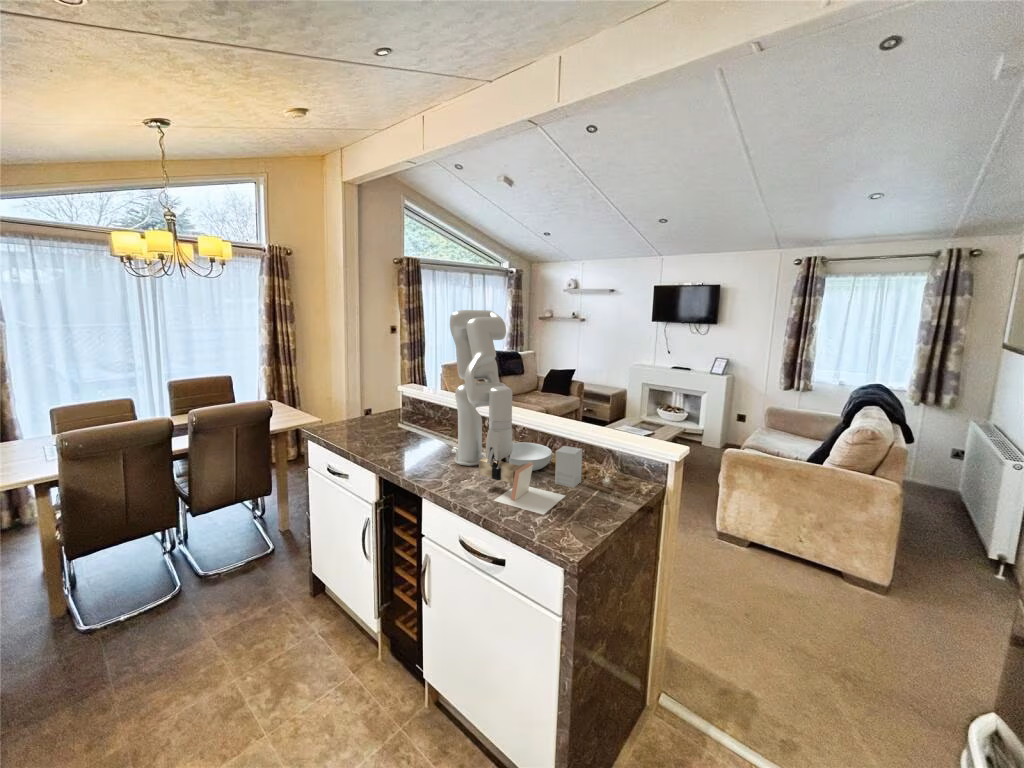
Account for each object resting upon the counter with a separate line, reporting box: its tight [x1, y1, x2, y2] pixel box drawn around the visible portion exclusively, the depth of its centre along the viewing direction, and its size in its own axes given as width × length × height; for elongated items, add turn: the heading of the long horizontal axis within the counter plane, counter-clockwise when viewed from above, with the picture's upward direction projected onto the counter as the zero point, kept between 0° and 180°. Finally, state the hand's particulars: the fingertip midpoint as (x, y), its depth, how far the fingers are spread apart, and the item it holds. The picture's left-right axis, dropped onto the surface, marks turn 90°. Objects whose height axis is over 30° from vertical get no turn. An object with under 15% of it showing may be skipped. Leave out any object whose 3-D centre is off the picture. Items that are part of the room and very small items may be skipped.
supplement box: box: [554, 445, 583, 489], centre depth 155 cm, size 7×7×13 cm
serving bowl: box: [509, 441, 553, 472], centre depth 171 cm, size 21×21×7 cm
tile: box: [511, 463, 533, 500], centre depth 143 cm, size 2×9×10 cm, turn 149°
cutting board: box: [492, 486, 566, 516], centre depth 142 cm, size 18×16×1 cm
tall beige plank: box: [478, 456, 526, 488], centre depth 147 cm, size 15×8×5 cm, turn 59°
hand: (499, 476), depth 147 cm, fingers closed on tall beige plank, 3 cm apart
